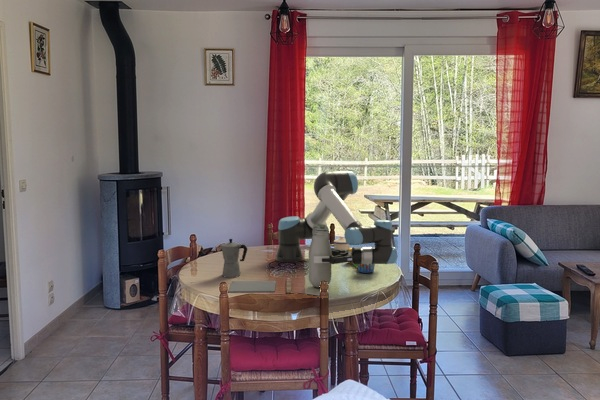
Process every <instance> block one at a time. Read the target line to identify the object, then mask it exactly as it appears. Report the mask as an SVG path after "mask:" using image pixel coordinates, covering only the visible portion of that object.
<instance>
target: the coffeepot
mask: <svg viewBox="0 0 600 400" xmlns="http://www.w3.org/2000/svg"><path fill="white" fill-rule="evenodd" d="M228 240H229V242H225V243H220V244H218V246H219V247H220V249H221V251H222V258H223V267H222V275H221V276H222V277H223V276H225V277H224V278H227V277H233V278H237V277H236V276H238V277H240V276H241V275H240V274H241V273H242V271H241V268H240V262H244V261H245V260H246V255H247V252H248V247H247V246H246V244H240V243H238V242H237V243H236V242H233V238H229V239H228ZM242 249H243V252H242V257H241V258H240V259H239V257H240V250H242ZM239 261H240V262H239Z"/></svg>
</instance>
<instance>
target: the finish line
mask: <svg viewBox="0 0 600 400" xmlns="http://www.w3.org/2000/svg"><path fill="white" fill-rule="evenodd" d="M285 288H286V291H285V293H291V294H292V279H291V278H290V279H286V287H285Z"/></svg>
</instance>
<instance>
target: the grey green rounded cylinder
mask: <svg viewBox="0 0 600 400" xmlns="http://www.w3.org/2000/svg"><path fill="white" fill-rule="evenodd" d="M312 234H313V236H312V239H311V242H310V245H309V247H308V249H309V250H308V279H309V282H310V284H311V285H312V287H315V288H317V289H318V288H319V286H320V282H321V281H322V280H326V281H327V282H328V284H329V285H330V284H331V280H332V265H333V264H331V263H314V256H329V255H331V256H332V250H331V249H332V246H330V245H331V242H330V229H329V227H328V225H327V226H326V225H324V224H319V225H315V226H314V227H313V230H312Z"/></svg>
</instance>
